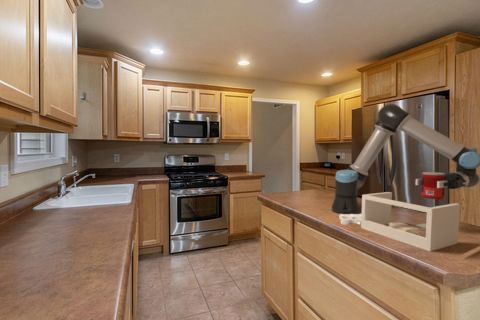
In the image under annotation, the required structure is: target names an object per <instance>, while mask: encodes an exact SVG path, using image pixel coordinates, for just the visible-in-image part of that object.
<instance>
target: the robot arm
mask: <svg viewBox="0 0 480 320" xmlns="http://www.w3.org/2000/svg"><path fill="white" fill-rule="evenodd" d="M374 127H375V128H374V130H373V131H372V133H371V135H370V137H369V138H368V140H367V142H366V143H365V145H364V146H363V148H362V150H361V151H360V153H359V155H358V156H357V158H356V159H355V161H354V163H353V164H350V165H349V166H348V168H347V169H341V170H337V171H336V173H335V177H334V178H335V179H334V180H335V182H334V183H335V185H334V186H335V191H334V193H335V194H334V199H333V202H332V205H331V211H332V212H334V213H337V214H339V215H340V214H361V208H360V204H359V202H358V190H359V189H361V188H362V187H363V186H364V185H365V181H366V179H367V177H368V176H369V169H370V168H371V166H372V165H373V163H374V162H375V160H376V158H377V157H378V155H379V154H380V152H381V150H382V149H383V148H384V146H385V145H386V142H388V141H389V140H388V139H389V138H390V137H391V136H392V135H395V134H396V133H397V131H401V132H403V133H405V134H406V135H408V136H410V137H411V138H413V139H414V140H416V141H419V142H420V143H421V144H423V145H425V146H426V147H429V148H430V149H432V150H434V151H435V152H437V153H439V154H441V155H442V156H443V157H446V158H447V159H449V160H450V161H452V162H454V163H456V165H455V172H447V173H445V181H437V188H444V187H445V188H447V189H449V190H455V189H456V190H459V189H462V188H463V189H464V188H472V187H474V186H477V185H478V184H479V183H480V176H479V174H478V173H477V169H478V168H479V167H480V154H479V153H478V149H477V148H476V147H465V146H463V145H462V144H460V143H458V142H456V141H455V140H453V139H452V138H449V137H448V136H446V135H444V134H442V133H440V132H439V131H437V130H435V129H433V128H431V127H430V126H428V125H426V124H424V123H423V122H420V121H419V120H417V119H415V118H413V117H412V115H411V114H410V113H408V112H407V111H405V110H404V109H403V108H401V106H400V105H397V104H394V103H390V104H389V103H388V104H386V105H383V106H382V107H381V108H380V109H379V111H378V113H377V120H376V121H375V123H374ZM415 186H422V177H418V178H415Z"/></svg>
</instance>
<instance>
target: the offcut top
mask: <svg viewBox="0 0 480 320" xmlns="http://www.w3.org/2000/svg"><path fill="white" fill-rule="evenodd" d="M388 227H392V228H395V229H399V230H402V231H405V232H409V233H412V234H419V233H420V229H419V228H418V227H415V226H412V225H409V224H406V223H405V222H404V223H403V222H401V221H399V222H398V221H397V222H396V221H394V222H391V223H389V224H388Z"/></svg>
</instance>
